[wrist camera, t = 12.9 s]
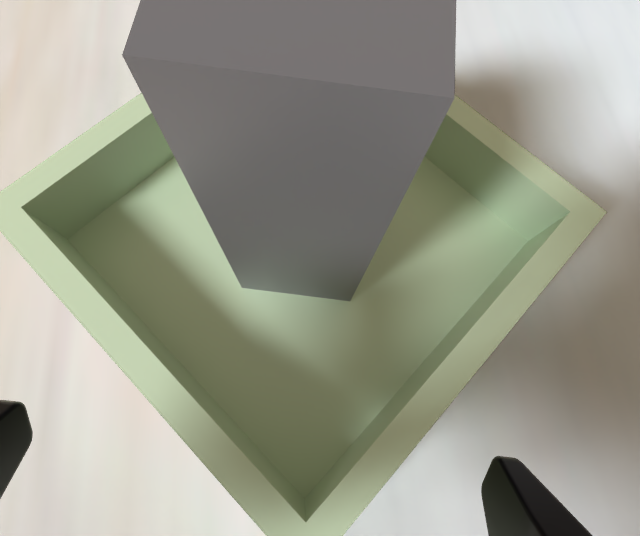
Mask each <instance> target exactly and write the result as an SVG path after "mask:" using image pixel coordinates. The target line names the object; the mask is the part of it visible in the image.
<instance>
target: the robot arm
mask: <svg viewBox="0 0 640 536" xmlns="http://www.w3.org/2000/svg"><path fill="white" fill-rule="evenodd" d="M32 434H33V432H32V428H31V424H30V421H29V417H28V414H27V410H26V407H25V405H24V404H23V403H21V402H16V401H7V400H0V499H1V497H2V495H3V493H4V491H5V489H6V488H7V486H8V484H9V482H10V480H11V479H12V477H13V475H14V473H15V471H16V470H17V468H18V466H19V464H20V462H21V461H22V459H23V457H24V455H25V453H26V451H27V450H28V448H29V446H30V444H31V441H32ZM481 492H482V500H483V506H484V512H485V517H486V523H487V529H488V534H489V536H592V535H591V534H590V533H589V532H588V530H587V529H586V528H585V527H584V526H583V525H582V524H581V523H580V522H579V521H578V520H577V519H576V518H575V517H574V516H573V515H572V514H571V513H570V512H569V511H568V510H567V509H566V508H565V507H564V506H563V505H562V504H561V503H560V502H559V500H558V499H557V498H556V497H555V496H554V495H553V494H552V493H551V492H550V491H549V490H548V489H547V488H546V487H545V486H544V485H543V484H542V483H541V482H540V481H539V480H538V479H537V478H536V477H535V476H534V475H533V474H532V473H531V472H530V470H529V469H528V468H527V467H526V466H525V465H524V464H523V463H522V462H521V461H519V460H518V459H516V458H511V457H502V456H496V457H495V458H494V459H493V460H492V462H491V465H490V467H489V469H488V471H487V474H486V476H485V478H484V480H483V483H482V490H481Z"/></svg>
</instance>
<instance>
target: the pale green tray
mask: <svg viewBox="0 0 640 536" xmlns="http://www.w3.org/2000/svg"><path fill="white" fill-rule="evenodd" d="M606 213H607V212H606V211H605V210H604V209H603V208H601V207H600V206H599V205H597V204H596V203H595V202H593V201H592V200H591V199H590V198H588V197H587V196H586V195H584V194H583V193H582V192H580V191H579V190H578V189H577V188H575V187H574V186H573V185H571V184H570V183H569V182H567V181H566V180H565V179H564V178H562V177H561V176H560V175H558V174H557V173H556V172H555V171H553V170H552V169H551V168H549V167H548V166H547V165H545V164H544V163H543V162H542V161H540V160H539V159H538V158H536V157H535V156H534V155H532V154H531V153H530V152H529V151H527V150H526V149H525V148H523V147H522V146H521V145H519V144H518V143H517V142H516V141H514V140H513V139H512V138H510V137H509V136H508V135H507V134H505V133H504V132H503V131H501V130H500V129H499V128H497V127H496V126H495V125H494V124H492V123H491V122H490V121H488V120H487V119H486V118H484V117H483V116H482V115H481V114H479V113H478V112H477V111H475V110H474V109H473V108H471V107H470V106H469V105H468V104H466V103H465V102H464V101H462V100H461V99H460V98H458V97H457V96H456V95H454V100H453V102H452V104H451V106H450V108H449V110H448V112H447V114H446V116H445V117H444V119H443V121H442V123H441V125H440V127H439V129H438V131H437V133H436V135H435V137H434V139H433V141H432V143H431V145H430V147H429V149H428V151H427V153H426V155H425V156H424V158H423V160H422V162H421V164H420V166H419V168H418V170H417V172H416V174H415V176H414V178H413V180H412V182H411V184H410V186H409V188H408V190H407V192H406V194H405V195H404V197H403V199H402V201H401V203H400V205H399V207H398V209H397V211H396V213H395V215H394V217H393V219H392V221H391V223H390V225H389V227H388V229H387V231H386V233H385V234H384V236H383V238H382V240H381V242H380V244H379V246H378V248H377V250H376V252H375V254H374V256H373V258H372V260H371V262H370V264H369V266H368V268H367V270H366V271H365V273H364V275H363V277H362V279H361V281H360V283H359V285H358V287H357V289H356V291H355V293H354V295H353V297H352V299H351V301H343V300H335V299H327V298H319V297H311V296H303V295H295V294H287V293H279V292H271V291H263V290H255V289H247V288H242V287H241V285H240V283H239V281H238V280H237V278H236V276H235V274H234V272H233V270H232V268H231V266H230V264H229V262H228V260H227V258H226V256H225V254H224V252H223V250H222V248H221V246H220V244H219V243H218V241H217V239H216V237H215V235H214V233H213V231H212V229H211V227H210V225H209V223H208V221H207V219H206V217H205V215H204V213H203V211H202V209H201V207H200V205H199V204H198V202H197V200H196V198H195V196H194V194H193V192H192V190H191V188H190V186H189V184H188V182H187V180H186V178H185V176H184V174H183V172H182V170H181V168H180V167H179V165H178V163H177V161H176V159H175V157H174V155H173V153H172V151H171V149H170V147H169V145H168V143H167V141H166V139H165V137H164V135H163V133H162V131H161V129H160V128H159V126H158V124H157V122H156V120H155V118H154V116H153V114H152V112H151V110H150V108H149V106H148V104H147V102H146V100H145V98H144V96H143V94H142V93H140V94H139V95H137V96H136V97H135V98H133V99H132V100H130V101H129V102H127V103H126V104H125V105H123V106H122V107H120V108H119V109H118V110H116V111H115V112H113V113H112V114H110V115H109V116H108V117H106V118H105V119H103V120H102V121H100V122H99V123H98V124H96V125H95V126H93V127H92V128H90V129H89V130H88V131H86V132H85V133H83V134H82V135H80V136H79V137H78V138H76V139H75V140H73V141H72V142H71V143H69V144H68V145H66V146H65V147H63V148H62V149H61V150H59V151H58V152H56V153H55V154H53V155H52V156H51V157H49V158H48V159H46V160H45V161H43V162H42V163H41V164H39V165H38V166H36V167H35V168H33V169H32V170H31V171H29V172H28V173H26V174H25V175H24V176H22V177H21V178H19V179H18V180H16V181H15V182H14V183H12V184H11V185H9V186H8V187H6V188H5V189H4V190H2V191H1V192H0V232H1V233H2V234H3V235H4V236H5V237H6V239H7V240H8V241H9V242H10V243H11V244H12V245H13V247H14V248H15V249H16V250H17V251H18V252H19V253H20V255H21V256H22V257H23V258H24V259H25V260H26V261H27V263H28V264H29V265H30V266H31V267H32V268H33V269H34V271H35V272H36V273H37V274H38V275H39V276H40V277H41V279H42V280H43V281H44V282H45V283H46V284H47V285H48V287H49V288H50V289H51V290H52V291H53V292H54V293H55V295H56V296H57V297H58V298H59V299H60V300H61V301H62V303H63V304H64V305H65V306H66V307H67V308H68V309H69V311H70V312H71V313H72V314H73V315H74V316H75V317H76V319H77V320H78V321H79V322H80V323H81V324H82V325H83V327H84V328H85V329H86V330H87V331H88V332H89V333H90V335H91V336H92V337H93V338H94V339H95V340H96V341H97V343H98V344H99V345H100V346H101V347H102V348H103V349H104V351H105V352H106V353H107V354H108V355H109V356H110V357H111V359H112V360H113V361H114V362H115V363H116V364H117V365H118V367H119V368H120V369H121V370H122V371H123V372H124V373H125V375H126V376H127V377H128V378H129V379H130V380H131V381H132V383H133V384H134V385H135V386H136V387H137V388H138V389H139V391H140V392H141V393H142V394H143V395H144V396H145V397H146V399H147V400H148V401H149V402H150V403H151V404H152V405H153V407H154V408H155V409H156V410H157V411H158V412H159V413H160V415H161V416H162V417H163V418H164V419H165V420H166V421H167V423H168V424H169V425H170V426H171V427H172V428H173V429H174V431H175V432H176V433H177V434H178V435H179V436H180V437H181V439H182V440H183V441H184V442H185V443H186V444H187V445H188V447H189V448H190V449H191V450H192V451H193V452H194V454H195V455H196V456H197V457H198V458H199V459H200V460H201V462H202V463H203V464H204V465H205V466H206V467H207V468H208V470H209V471H210V472H211V473H212V474H213V475H214V476H215V478H216V479H217V480H218V481H219V482H220V483H221V484H222V486H223V487H224V488H225V489H226V490H227V491H228V492H229V494H230V495H231V496H232V497H233V498H234V499H235V500H236V502H237V503H238V504H239V505H240V506H241V507H242V508H243V510H244V511H245V512H246V513H247V514H248V515H249V516H250V518H251V519H252V520H253V521H254V522H255V523H256V524H257V526H258V527H259V528H260V529H261V530H262V531H263V532H264V534H265V535H266V536H343V535H344V534H345V532H346V531H347V530H348V529H349V528H350V526H351V525H352V524H353V523H354V521H355V520H356V519H357V518H358V517H359V515H360V514H361V513H362V512H363V510H364V509H365V508H366V507H367V506H368V504H369V503H370V502H371V501H372V499H373V498H374V497H375V496H376V494H377V493H378V492H379V491H380V490H381V488H382V487H383V486H384V485H385V483H386V482H387V481H388V480H389V479H390V477H391V476H392V475H393V474H394V472H395V471H396V470H397V469H398V468H399V466H400V465H401V464H402V463H403V461H404V460H405V459H406V458H407V457H408V455H409V454H410V453H411V452H412V450H413V449H414V448H415V447H416V445H417V444H418V443H419V442H420V441H421V439H422V438H423V437H424V436H425V434H426V433H427V432H428V431H429V430H430V428H431V427H432V426H433V425H434V423H435V422H436V421H437V420H438V419H439V417H440V416H441V415H442V414H443V412H444V411H445V410H446V409H447V408H448V406H449V405H450V404H451V403H452V401H453V400H454V399H455V398H456V396H457V395H458V394H459V393H460V392H461V390H462V389H463V388H464V387H465V385H466V384H467V383H468V382H469V381H470V379H471V378H472V377H473V376H474V374H475V373H476V372H477V371H478V370H479V368H480V367H481V366H482V365H483V363H484V362H485V361H486V360H487V358H488V357H489V356H490V355H491V354H492V352H493V351H494V350H495V349H496V347H497V346H498V345H499V344H500V343H501V341H502V340H503V339H504V338H505V336H506V335H507V334H508V333H509V332H510V330H511V329H512V328H513V327H514V325H515V324H516V323H517V322H518V321H519V319H520V318H521V317H522V316H523V314H524V313H525V312H526V311H527V309H528V308H529V307H530V306H531V305H532V303H533V302H534V301H535V300H536V298H537V297H538V296H539V295H540V294H541V292H542V291H543V290H544V289H545V287H546V286H547V285H548V284H549V283H550V281H551V280H552V279H553V278H554V276H555V275H556V274H557V273H558V271H559V270H560V269H561V268H562V267H563V265H564V264H565V263H566V262H567V260H568V259H569V258H570V257H571V256H572V254H573V253H574V252H575V251H576V249H577V248H578V247H579V246H580V245H581V243H582V242H583V241H584V240H585V238H586V237H587V236H588V235H589V234H590V232H591V231H592V230H593V229H594V227H595V226H596V225H597V224H598V222H599V221H600V220H601V219H602V218H603V216H604V215H605V214H606Z"/></svg>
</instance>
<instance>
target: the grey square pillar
mask: <svg viewBox="0 0 640 536" xmlns="http://www.w3.org/2000/svg"><path fill="white" fill-rule="evenodd" d="M455 37H456V0H141V1H140V4H139V7H138V10H137V13H136V16H135V19H134V22H133V25H132V28H131V31H130V34H129V37H128V39H127V42H126V45H125V48H124V51H123V54H122V55H123V57H124V59H125V61H126V63H127V65H128V67H129V69H130V71H131V73H132V75H133V77H134V79H135V81H136V83H137V85H138V87H139V89H140V91H141V92H142V94H143V96H144V98H145V100H146V102H147V104H148V106H149V108H150V110H151V112H152V114H153V116H154V118H155V120H156V122H157V124H158V126H159V128H160V129H161V131H162V133H163V135H164V137H165V139H166V141H167V143H168V145H169V147H170V149H171V151H172V153H173V155H174V157H175V159H176V161H177V163H178V165H179V167H180V168H181V170H182V172H183V174H184V176H185V178H186V180H187V182H188V184H189V186H190V188H191V190H192V192H193V194H194V196H195V198H196V200H197V202H198V204H199V205H200V207H201V209H202V211H203V213H204V215H205V217H206V219H207V221H208V223H209V225H210V227H211V229H212V231H213V233H214V235H215V237H216V239H217V241H218V243H219V244H220V246H221V248H222V250H223V252H224V254H225V256H226V258H227V260H228V262H229V264H230V266H231V268H232V270H233V272H234V274H235V276H236V278H237V280H238V281H239V283H240V285H241V287H242V288H247V289H255V290H263V291H271V292H279V293H287V294H295V295H303V296H311V297H319V298H327V299H335V300H343V301H351V299H352V297H353V295H354V293H355V291H356V289H357V287H358V285H359V283H360V281H361V279H362V277H363V275H364V273H365V271H366V270H367V268H368V266H369V264H370V262H371V260H372V258H373V256H374V254H375V252H376V250H377V248H378V246H379V244H380V242H381V240H382V238H383V236H384V234H385V233H386V231H387V229H388V227H389V225H390V223H391V221H392V219H393V217H394V215H395V213H396V211H397V209H398V207H399V205H400V203H401V201H402V199H403V197H404V195H405V194H406V192H407V190H408V188H409V186H410V184H411V182H412V180H413V178H414V176H415V174H416V172H417V170H418V168H419V166H420V164H421V162H422V160H423V158H424V156H425V155H426V153H427V151H428V149H429V147H430V145H431V143H432V141H433V139H434V137H435V135H436V133H437V131H438V129H439V127H440V125H441V123H442V121H443V119H444V117H445V116H446V114H447V112H448V110H449V108H450V106H451V104H452V102H453V100H454V95H455Z"/></svg>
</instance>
